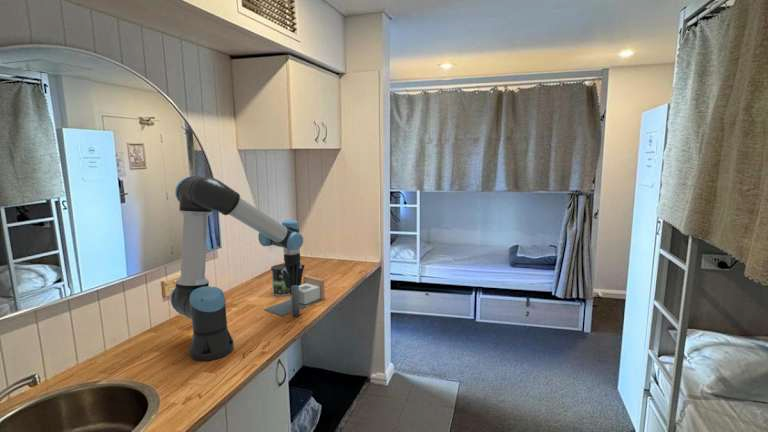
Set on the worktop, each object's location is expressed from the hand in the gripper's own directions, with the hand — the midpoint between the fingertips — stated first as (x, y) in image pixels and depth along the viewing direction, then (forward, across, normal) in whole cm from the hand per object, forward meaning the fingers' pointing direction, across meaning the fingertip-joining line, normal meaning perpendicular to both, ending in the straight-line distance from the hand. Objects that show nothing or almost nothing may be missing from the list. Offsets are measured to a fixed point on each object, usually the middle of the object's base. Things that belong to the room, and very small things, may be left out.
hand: (294, 301), depth 197 cm
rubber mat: (+2, +1, 0) cm, 2 cm away
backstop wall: (+2, +13, 0) cm, 13 cm away
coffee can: (+2, +8, +19) cm, 21 cm away
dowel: (+2, -8, -11) cm, 14 cm away
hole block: (+2, +7, 0) cm, 7 cm away
